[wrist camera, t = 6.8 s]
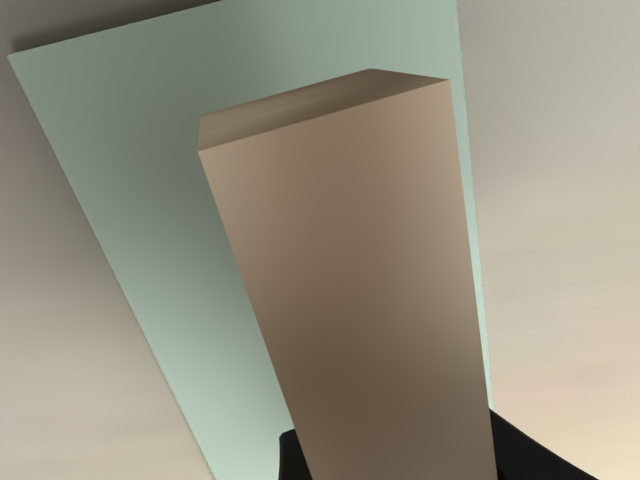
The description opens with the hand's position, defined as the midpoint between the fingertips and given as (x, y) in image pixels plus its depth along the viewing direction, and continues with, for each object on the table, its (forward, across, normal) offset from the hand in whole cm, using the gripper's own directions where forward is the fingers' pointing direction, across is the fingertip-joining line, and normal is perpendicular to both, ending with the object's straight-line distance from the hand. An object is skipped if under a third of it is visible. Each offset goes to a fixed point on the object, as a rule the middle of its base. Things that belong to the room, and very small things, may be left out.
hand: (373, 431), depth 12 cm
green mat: (+5, 0, 0) cm, 5 cm away
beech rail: (0, 0, 0) cm, 0 cm away
